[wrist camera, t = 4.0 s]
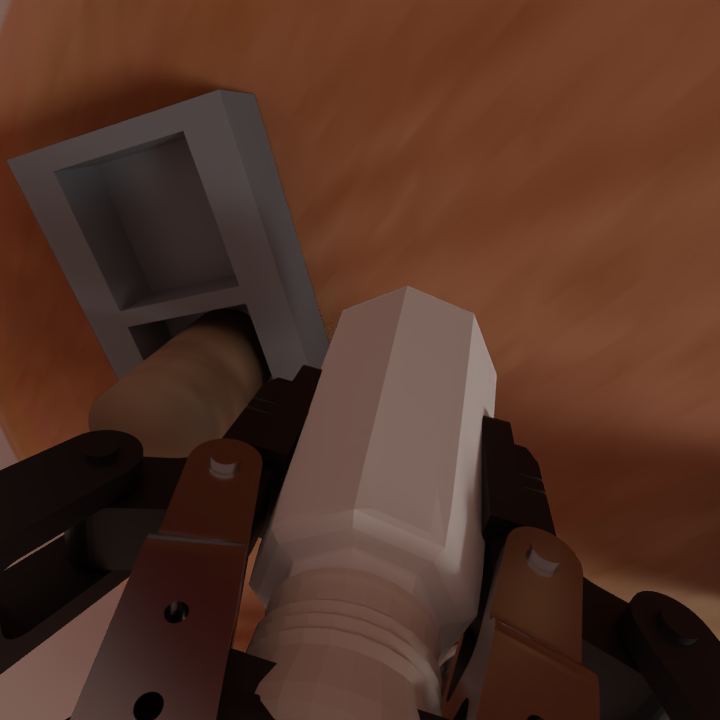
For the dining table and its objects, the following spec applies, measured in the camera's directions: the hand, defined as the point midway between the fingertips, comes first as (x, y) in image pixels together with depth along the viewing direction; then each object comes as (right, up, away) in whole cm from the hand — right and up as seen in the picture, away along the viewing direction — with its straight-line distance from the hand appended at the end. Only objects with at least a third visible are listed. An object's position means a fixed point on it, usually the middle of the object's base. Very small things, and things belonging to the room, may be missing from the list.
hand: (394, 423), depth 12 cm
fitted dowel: (-8, +2, +13) cm, 15 cm away
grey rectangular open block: (-8, +6, +13) cm, 16 cm away
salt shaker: (+1, +1, +3) cm, 4 cm away
